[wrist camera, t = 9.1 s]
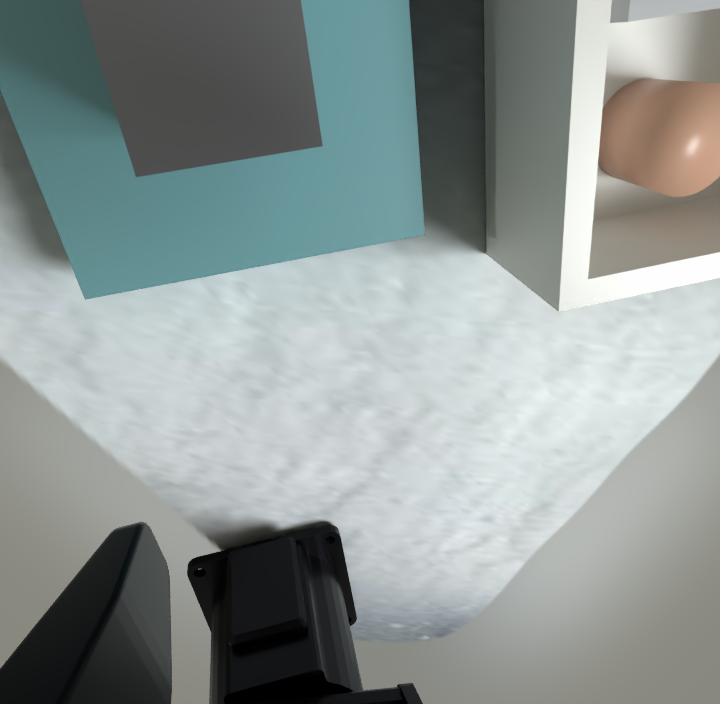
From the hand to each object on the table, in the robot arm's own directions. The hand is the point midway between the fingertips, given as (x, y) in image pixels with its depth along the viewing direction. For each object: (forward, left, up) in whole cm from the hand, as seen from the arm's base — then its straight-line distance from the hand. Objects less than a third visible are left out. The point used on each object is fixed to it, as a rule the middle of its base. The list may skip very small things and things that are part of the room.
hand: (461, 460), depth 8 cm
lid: (+6, +2, -12) cm, 13 cm away
